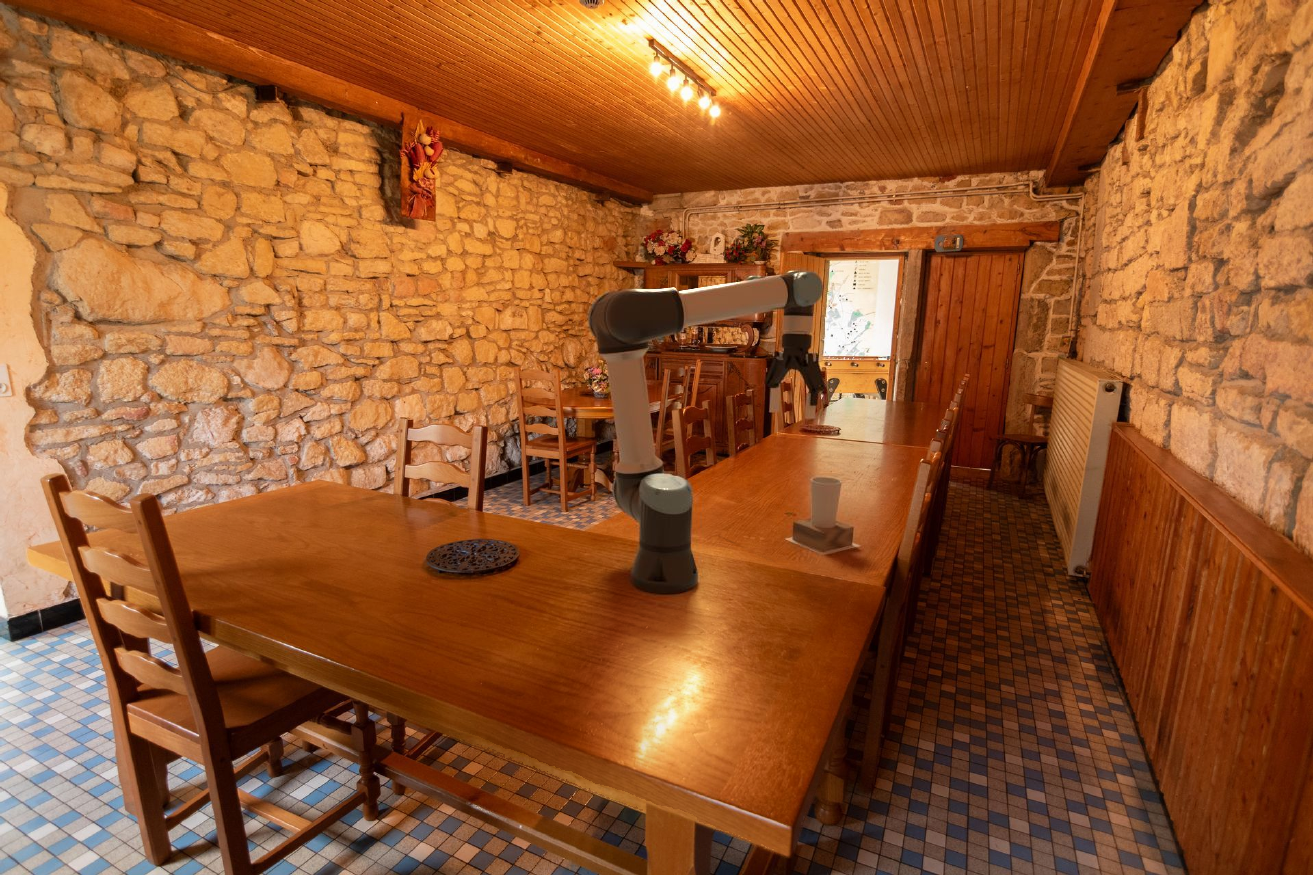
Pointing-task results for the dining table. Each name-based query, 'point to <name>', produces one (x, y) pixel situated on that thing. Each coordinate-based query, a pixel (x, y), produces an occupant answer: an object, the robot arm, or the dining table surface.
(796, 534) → the base block
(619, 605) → the dining table surface
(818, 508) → the cup
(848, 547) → the mat
